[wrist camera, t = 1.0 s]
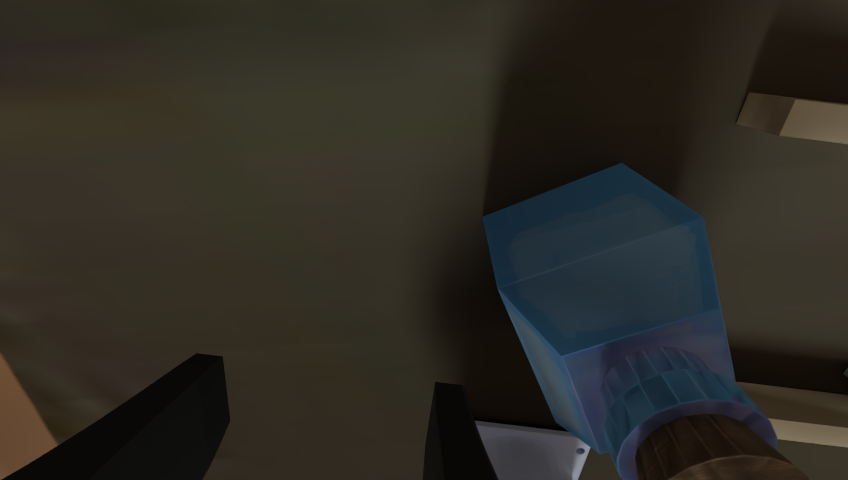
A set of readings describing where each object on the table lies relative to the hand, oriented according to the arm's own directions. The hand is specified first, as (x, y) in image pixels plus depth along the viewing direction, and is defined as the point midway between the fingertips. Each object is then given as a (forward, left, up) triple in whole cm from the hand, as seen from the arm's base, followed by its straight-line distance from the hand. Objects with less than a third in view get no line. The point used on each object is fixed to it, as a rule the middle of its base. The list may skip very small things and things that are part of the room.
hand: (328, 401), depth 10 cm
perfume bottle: (0, -9, -11) cm, 14 cm away
